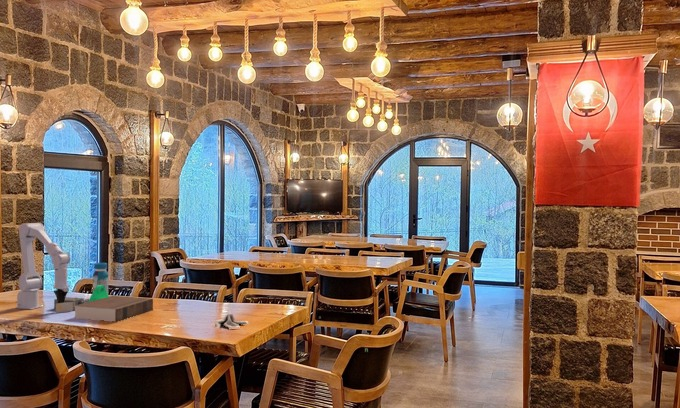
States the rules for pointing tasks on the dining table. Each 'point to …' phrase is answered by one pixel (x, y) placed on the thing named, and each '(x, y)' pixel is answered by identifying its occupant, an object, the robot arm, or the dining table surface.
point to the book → (113, 308)
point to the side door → (65, 307)
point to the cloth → (229, 322)
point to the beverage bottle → (100, 275)
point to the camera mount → (98, 293)
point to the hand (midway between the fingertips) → (60, 304)
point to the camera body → (68, 299)
